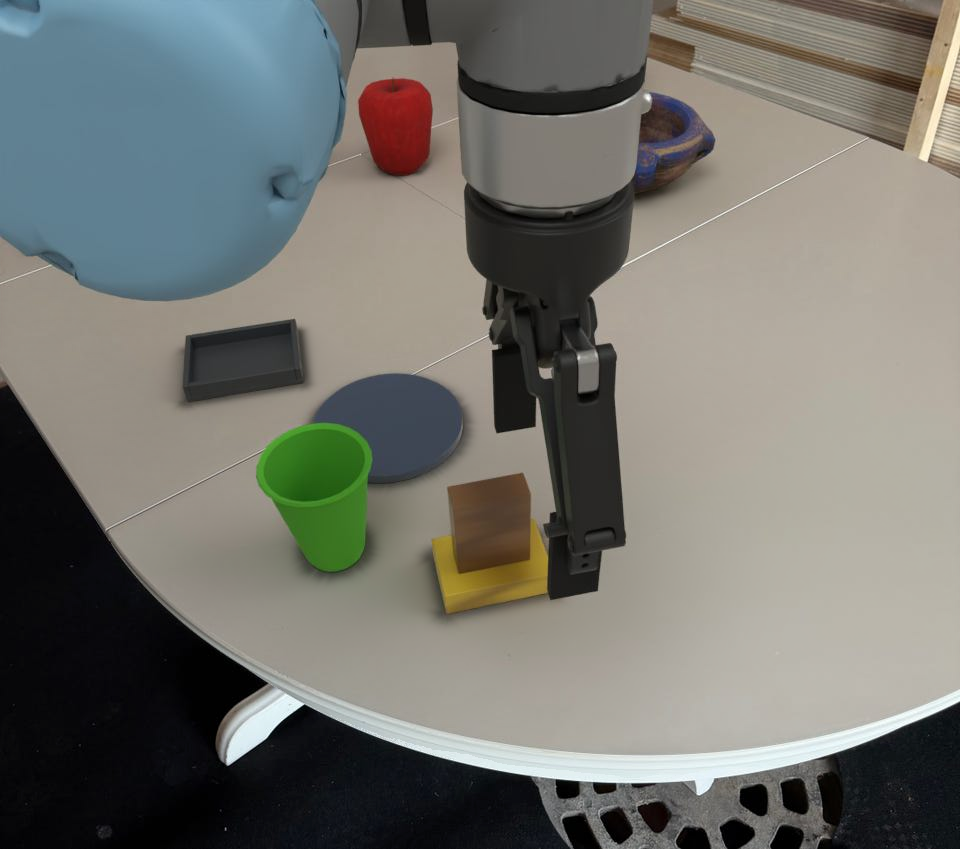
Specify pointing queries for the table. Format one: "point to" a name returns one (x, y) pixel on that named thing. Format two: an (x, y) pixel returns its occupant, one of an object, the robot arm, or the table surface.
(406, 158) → the apple
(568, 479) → the robot arm
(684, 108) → the bowl
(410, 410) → the plate
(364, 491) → the cup
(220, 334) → the dish
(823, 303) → the table surface
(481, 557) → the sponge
